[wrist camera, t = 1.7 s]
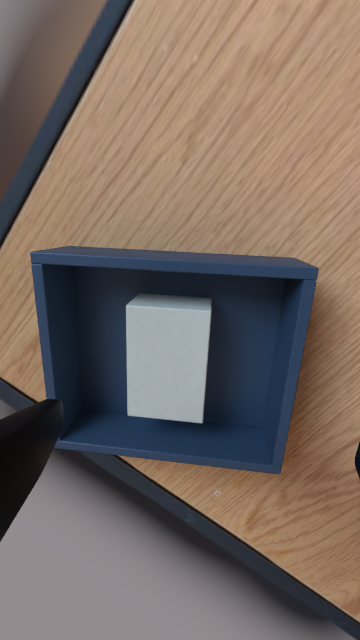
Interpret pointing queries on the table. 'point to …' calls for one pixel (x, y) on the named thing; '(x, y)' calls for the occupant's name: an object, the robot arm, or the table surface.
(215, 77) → the table surface
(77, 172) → the table surface
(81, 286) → the box
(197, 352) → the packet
